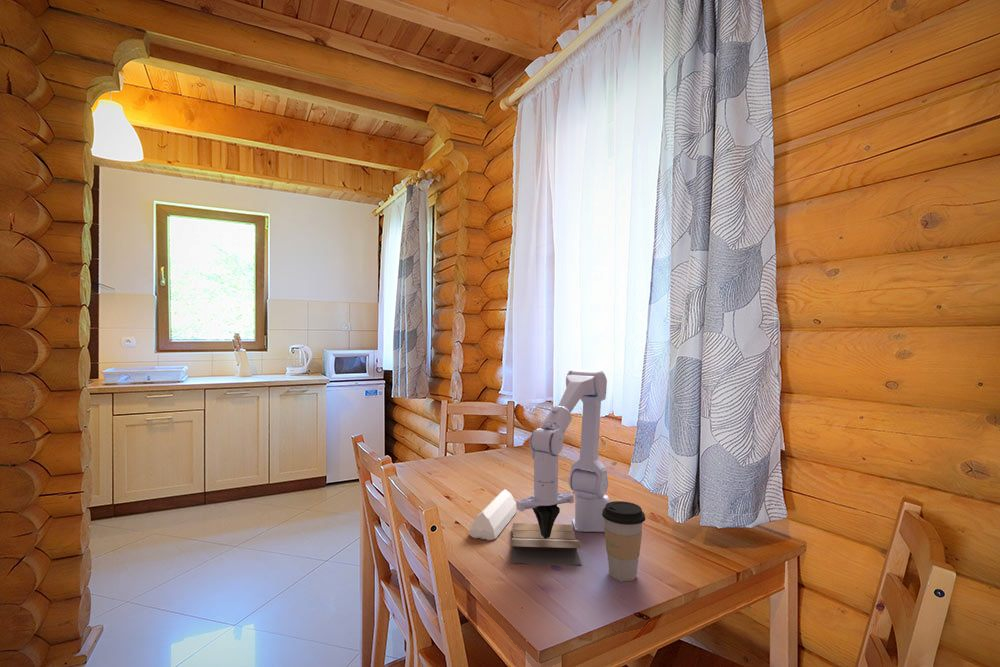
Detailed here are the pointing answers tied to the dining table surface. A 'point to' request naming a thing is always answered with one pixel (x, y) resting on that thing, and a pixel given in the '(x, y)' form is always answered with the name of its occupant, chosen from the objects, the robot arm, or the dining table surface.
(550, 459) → the robot arm
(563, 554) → the underlay mat
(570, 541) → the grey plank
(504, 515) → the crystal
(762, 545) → the dining table surface
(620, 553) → the coffee cup
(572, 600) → the dining table surface
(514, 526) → the walnut boards
